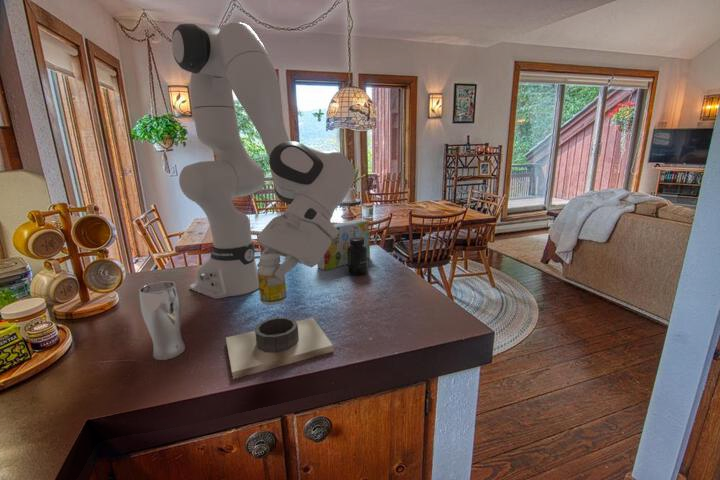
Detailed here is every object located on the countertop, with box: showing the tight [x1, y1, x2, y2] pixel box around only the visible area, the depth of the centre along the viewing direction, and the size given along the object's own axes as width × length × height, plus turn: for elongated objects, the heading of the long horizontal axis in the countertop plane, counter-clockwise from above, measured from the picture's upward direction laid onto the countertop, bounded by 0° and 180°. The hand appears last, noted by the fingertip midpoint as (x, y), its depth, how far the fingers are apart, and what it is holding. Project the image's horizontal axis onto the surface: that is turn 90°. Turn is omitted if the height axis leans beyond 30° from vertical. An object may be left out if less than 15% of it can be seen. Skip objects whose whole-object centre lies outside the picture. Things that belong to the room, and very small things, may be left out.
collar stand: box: [225, 316, 334, 380], centre depth 74 cm, size 20×14×5 cm
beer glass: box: [138, 280, 186, 361], centre depth 72 cm, size 7×7×15 cm
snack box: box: [316, 218, 371, 272], centre depth 128 cm, size 21×6×15 cm, turn 130°
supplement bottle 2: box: [347, 237, 368, 276], centre depth 118 cm, size 7×7×12 cm
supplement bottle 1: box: [257, 253, 288, 306], centre depth 71 cm, size 5×5×10 cm
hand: (268, 272), depth 70 cm, fingers closed on supplement bottle 1, 5 cm apart
